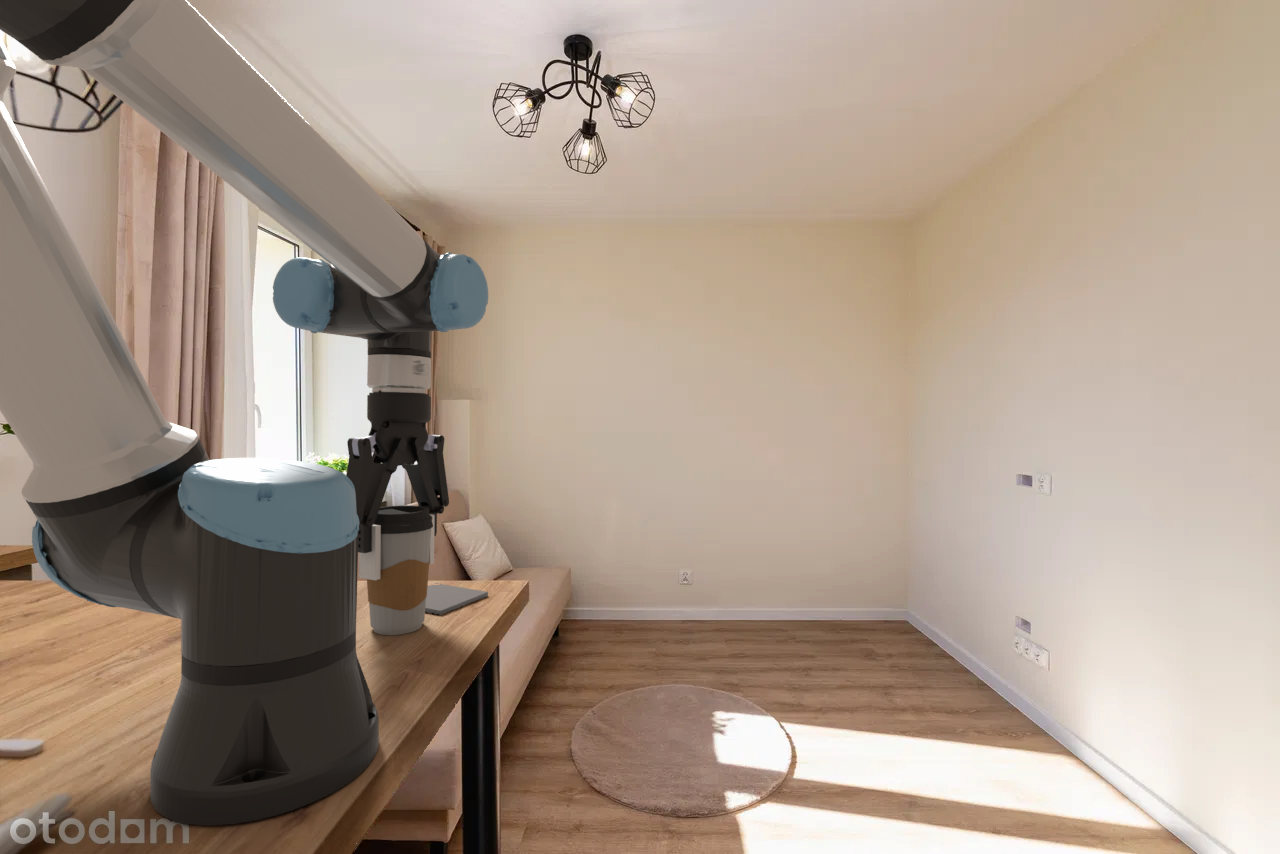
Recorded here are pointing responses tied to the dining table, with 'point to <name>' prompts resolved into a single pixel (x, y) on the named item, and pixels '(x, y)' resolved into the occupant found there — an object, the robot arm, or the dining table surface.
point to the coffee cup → (401, 570)
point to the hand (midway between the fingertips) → (398, 569)
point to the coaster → (449, 598)
